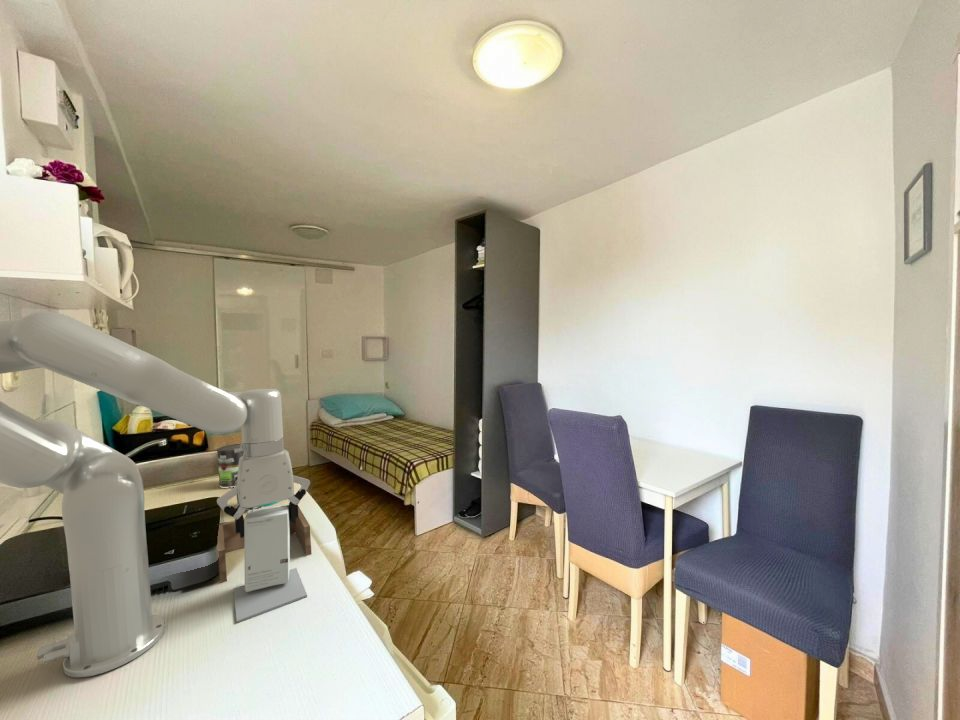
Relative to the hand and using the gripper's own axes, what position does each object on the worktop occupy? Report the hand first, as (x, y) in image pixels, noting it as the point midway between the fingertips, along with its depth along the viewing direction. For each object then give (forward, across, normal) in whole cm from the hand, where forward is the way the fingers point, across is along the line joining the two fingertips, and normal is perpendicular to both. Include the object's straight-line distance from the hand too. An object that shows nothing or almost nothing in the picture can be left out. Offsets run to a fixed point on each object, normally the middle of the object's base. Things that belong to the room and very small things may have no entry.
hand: (268, 528), depth 82 cm
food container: (+12, +2, +52) cm, 53 cm away
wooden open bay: (+12, 0, +15) cm, 19 cm away
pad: (+12, -1, -4) cm, 13 cm away
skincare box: (+11, 0, 0) cm, 11 cm away
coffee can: (+12, -2, +80) cm, 81 cm away
